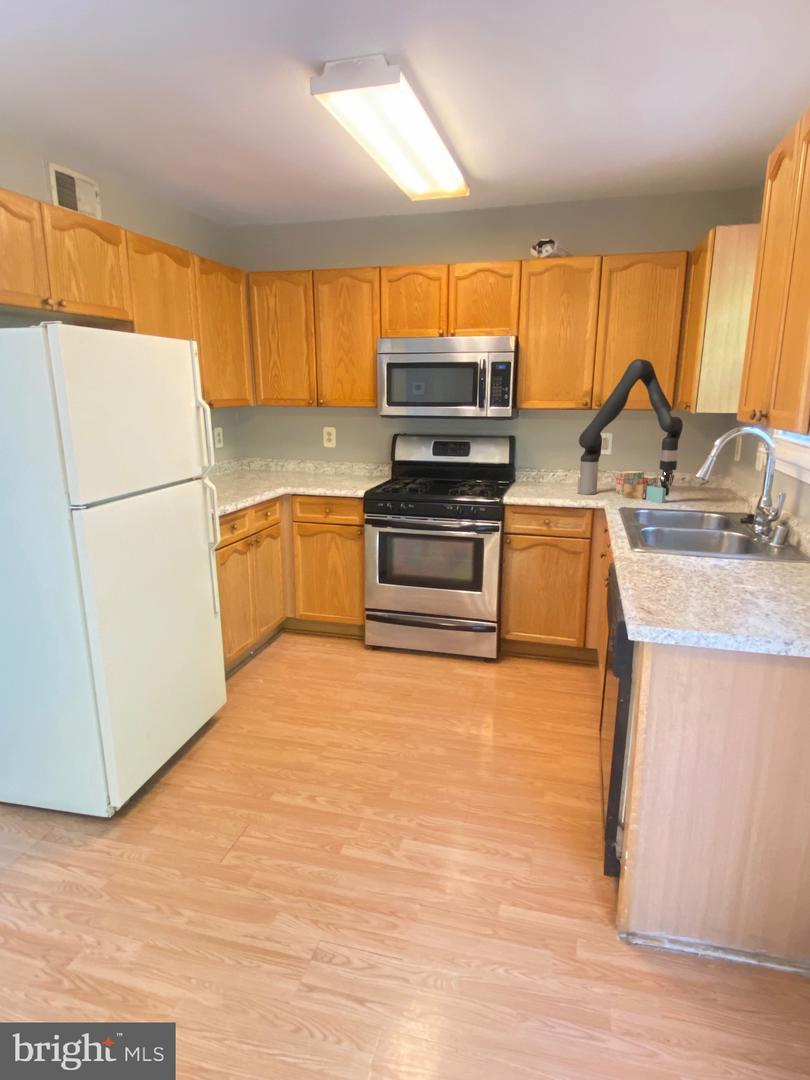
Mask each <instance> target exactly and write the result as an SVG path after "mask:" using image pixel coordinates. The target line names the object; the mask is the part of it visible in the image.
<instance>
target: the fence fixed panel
mask: <svg viewBox="0 0 810 1080" xmlns="http://www.w3.org/2000/svg"><path fill="white" fill-rule="evenodd" d="M647 486H649V484H646V489H645V494H644V485H632V484H624V489H623V495H622V498H623V499H631V500H633V499H634V500H646V495H647ZM646 501H647V500H646Z"/></svg>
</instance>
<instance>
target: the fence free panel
mask: <svg viewBox="0 0 810 1080" xmlns="http://www.w3.org/2000/svg"><path fill="white" fill-rule="evenodd" d="M666 497H667V496H666V488H663V487H659V486H658V487H654V486H647V495H646V501H651V502H656V503H661V504H664V503H666Z"/></svg>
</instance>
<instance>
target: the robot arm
mask: <svg viewBox="0 0 810 1080" xmlns="http://www.w3.org/2000/svg"><path fill="white" fill-rule="evenodd" d="M639 380H640V381H641V382H642V383H643V385H644V386H645V387H646V390H647V393H648V399H649V402H650V405H651V407H652V408H653V410H654V412H655V414H656V418H657V422H658V425H659V427H660V429H661V430H662V431H663V432H665V433H667V434H666V436H665V437H664V438H663V439H662V442H661V451H660V456H659V457H660V458H659V460H660V461H659V470H662V473H661V476H660V477H659V482H660V485H661V488H666V496H665V497H667V496H669V494H670V488H671V486H672V485H673V482H674V479H675V474H674V472H673V471H676V470H677V467H678V453H679V452H678V450H679V449H678V448H679V441H680V437H681V434H682V431H683V419H681V417H679V416H672V414H671V412H672V406H671V404H670V402H669V401H668V398H667V397H666V394H665V393H664V391H663V390H662V388H661V385H660V383H659V380H658V377H657V374H656V371H655V369H654V366H653V364H652V362H651V361H649V360H647V359H643V358H642V359H641V358H636V359H634V360H632V361H630V362H629V364H628V366H627V367H626V369H625V371H624V373H623V374H622V377H621V379H620V380H619V382H618V383H617V385H616V386H615V387H614V389H613V390H612V392H611V394H609V396H608V398H607V399H606V401H604V403H603V405H602V406H601V408H600V409H599V410H598V412H597V413H596V415H595V416H594V418H593V420H591V422H590V423H589V425H588V426H587V427H586V428H585V429H584V430H583V431H582V432H581V434H579V435H580V436H579V439H578V444H579V446H580V447H581V448H582V449H584V452H583V454H582V455H581V456H580V464H579V465H580V466H579V467H580V468H579V475H578V477H577V478H578V479H577V494H580V495H589V496H591V495H597V491H598V479H599V478H598V477H599V466H600V465H599V463H600V461H599V460H600V458H601V455H602V446H603V445H602V444H603V437H602V434H601V433H602V431H603V430H604V429H605V428H606V427H607V426H608V425H609V424H610V423H612V422H614V420H616V419H617V417H618V416H619V415H620V414H621V413H622V411H623V410H624V408H625V406H626V405H627V402H628V400H629V395H630V392H631V390H632V389H633V387H634V386H635V384H636V383H637V382H638V381H639Z"/></svg>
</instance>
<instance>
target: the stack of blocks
mask: <svg viewBox="0 0 810 1080" xmlns="http://www.w3.org/2000/svg"><path fill="white" fill-rule="evenodd" d="M624 484H632V485H644V495H645V489H646V484H649V486H654V487H659V476H653V475H645V472H643V471H638V470H632V471H631V470H629V471H617V472H616V478H615V492H614V494H617V495H622V496H623V489H624Z"/></svg>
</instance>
